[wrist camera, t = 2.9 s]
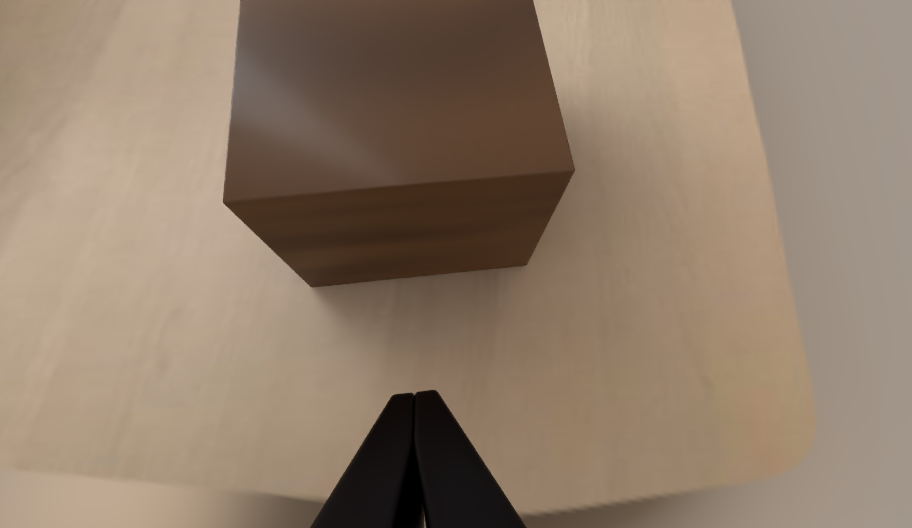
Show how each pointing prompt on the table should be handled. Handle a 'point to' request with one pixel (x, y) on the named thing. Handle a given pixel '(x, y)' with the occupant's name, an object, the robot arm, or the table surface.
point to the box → (394, 135)
